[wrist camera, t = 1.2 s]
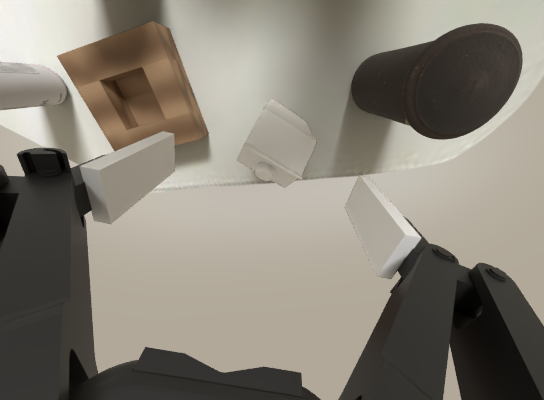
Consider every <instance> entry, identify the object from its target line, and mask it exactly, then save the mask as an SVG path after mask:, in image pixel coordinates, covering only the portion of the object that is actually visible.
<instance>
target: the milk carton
mask: <svg viewBox="0 0 544 400" xmlns="http://www.w3.org/2000/svg"><path fill="white" fill-rule="evenodd" d="M316 143H317V142H316V140H315V138H314V136H313V134H312V133H311V131H310V129H309V127H308V125H307V123H306V121H305V120H303V119H302V118H300V117H299V116H297V115H296V114H294V113H293V112H291V111H290V110H288V109H287V108H285V107H284V106H282V105H281V104H279V103H278V102H276V101H275V100H273V99H271V100H270V102H269V103H268V104H267V105H266V107H265V108H264V109H263V111H262V113H261V115H260V116H259V118H258V120H257V122H256V123H255V125H254V127H253V129H252V131H251V132H250V134H249V136H248V138H247V140H246V141H245V143H244V145H243V147H242V149H241V151H240V154H239V156H238V158H237V161H239V162H240V163H242V164H244V165H245V166H247V167H249V168H251V169H252V170H254V171H255V175H256V176H257V177H258V178H260V179H262V180H264V181H270V180H272V181H273V182H275V183H277V184H279V185H280V186H282V187H286V186H288V185H289V184H290V183H292V182H294V181H295V180H296V179H300V180H302V173H303V171H304V169H305V167H306V165H307V163H308V160H309V158H310V156H311V154H312V152H313V150H314V147H315V145H316Z"/></svg>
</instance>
